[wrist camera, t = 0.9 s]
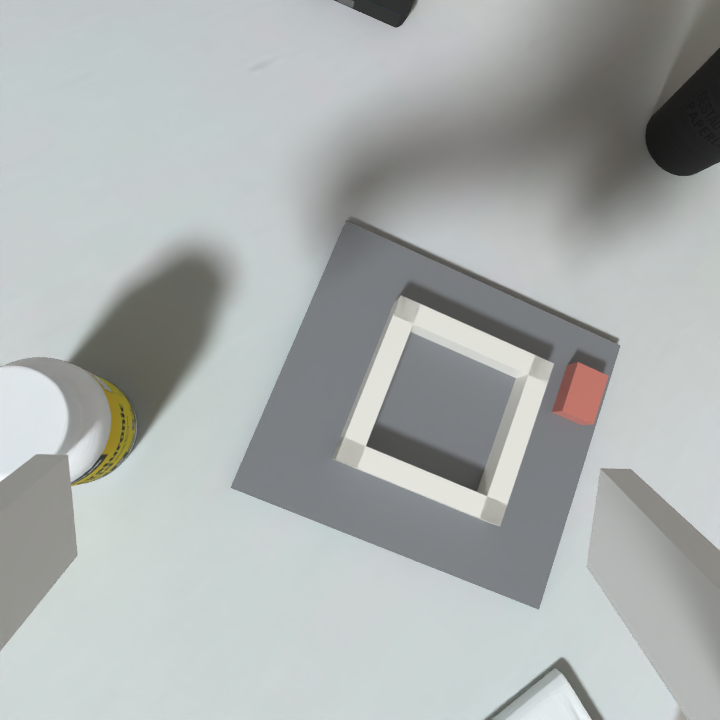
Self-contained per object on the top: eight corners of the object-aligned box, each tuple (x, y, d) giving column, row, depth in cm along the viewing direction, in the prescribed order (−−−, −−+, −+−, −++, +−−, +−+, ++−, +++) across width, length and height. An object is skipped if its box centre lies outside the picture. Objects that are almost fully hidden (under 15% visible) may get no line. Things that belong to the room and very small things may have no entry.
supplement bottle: (101, 502, 30) (29, 528, 20) (4, 449, 29) (-117, 450, 20) (161, 409, 31) (119, 392, 21) (68, 357, 31) (-16, 315, 21)
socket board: (344, 224, 34) (350, 209, 32) (614, 347, 36) (637, 340, 34) (231, 487, 31) (229, 489, 29) (533, 606, 33) (553, 617, 31)
